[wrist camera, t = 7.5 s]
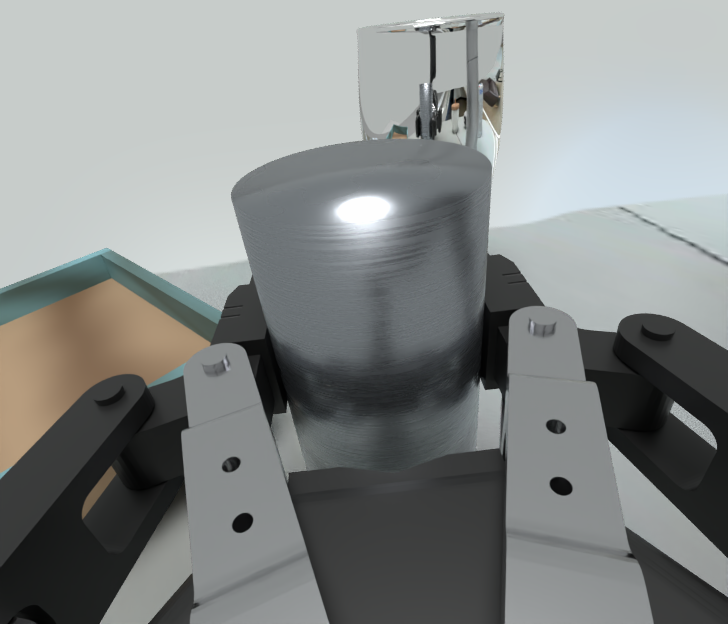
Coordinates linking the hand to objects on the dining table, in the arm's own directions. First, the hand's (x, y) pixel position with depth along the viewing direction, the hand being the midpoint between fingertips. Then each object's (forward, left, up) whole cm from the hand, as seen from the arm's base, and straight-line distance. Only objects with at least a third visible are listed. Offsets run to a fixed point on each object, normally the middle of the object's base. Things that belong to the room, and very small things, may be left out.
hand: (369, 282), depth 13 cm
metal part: (+2, +2, -6) cm, 7 cm away
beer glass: (-12, -6, -9) cm, 16 cm away
